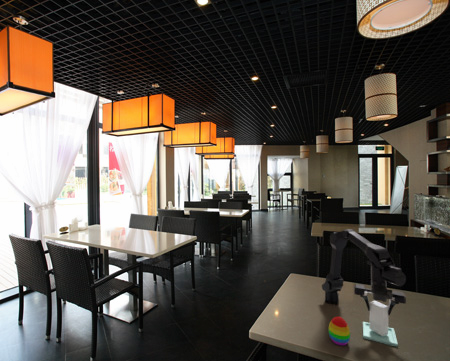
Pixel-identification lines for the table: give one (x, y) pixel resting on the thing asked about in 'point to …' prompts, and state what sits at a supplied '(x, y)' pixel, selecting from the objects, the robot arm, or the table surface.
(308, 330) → the table surface
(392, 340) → the tray
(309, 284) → the table surface
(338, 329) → the decorative egg
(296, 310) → the table surface
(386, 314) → the skincare box
